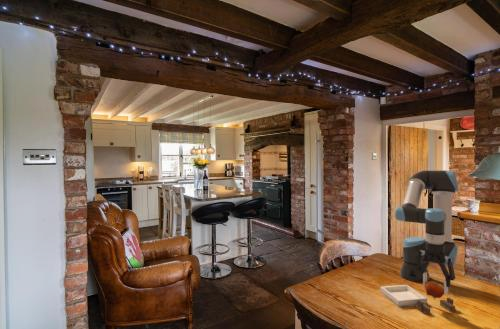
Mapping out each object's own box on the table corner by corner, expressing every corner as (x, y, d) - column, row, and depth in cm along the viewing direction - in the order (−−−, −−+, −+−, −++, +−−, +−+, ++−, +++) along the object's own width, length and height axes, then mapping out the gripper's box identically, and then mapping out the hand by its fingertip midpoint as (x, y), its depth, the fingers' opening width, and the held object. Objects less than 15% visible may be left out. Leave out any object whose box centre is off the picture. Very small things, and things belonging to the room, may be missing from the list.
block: (446, 304, 136) (446, 295, 136) (456, 311, 130) (456, 301, 130) (414, 307, 134) (414, 298, 134) (424, 314, 128) (423, 304, 128)
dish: (406, 290, 151) (406, 284, 151) (427, 304, 136) (427, 298, 136) (380, 292, 150) (380, 286, 150) (398, 307, 135) (398, 300, 135)
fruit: (418, 292, 133) (423, 276, 135) (427, 297, 136) (432, 281, 138) (436, 300, 126) (441, 283, 128) (445, 305, 129) (450, 288, 131)
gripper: (407, 238, 137) (408, 284, 138) (458, 249, 121) (458, 301, 122) (414, 235, 142) (415, 279, 143) (464, 245, 125) (464, 295, 126)
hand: (435, 289), depth 132 cm, fingers closed on fruit, 8 cm apart
